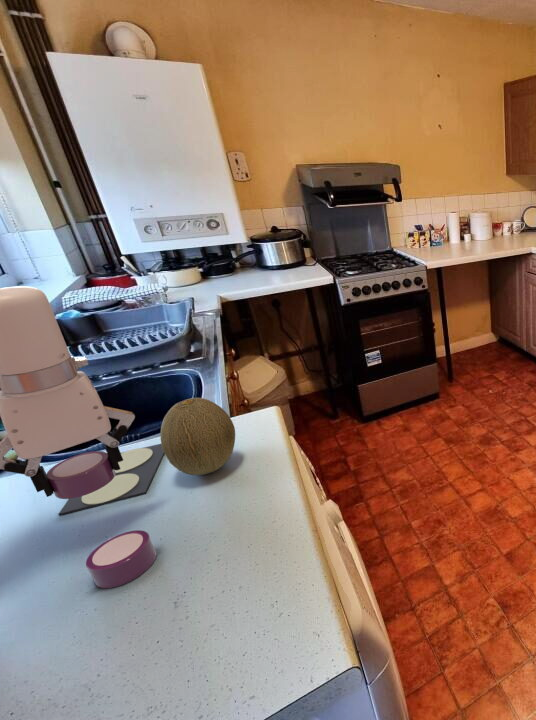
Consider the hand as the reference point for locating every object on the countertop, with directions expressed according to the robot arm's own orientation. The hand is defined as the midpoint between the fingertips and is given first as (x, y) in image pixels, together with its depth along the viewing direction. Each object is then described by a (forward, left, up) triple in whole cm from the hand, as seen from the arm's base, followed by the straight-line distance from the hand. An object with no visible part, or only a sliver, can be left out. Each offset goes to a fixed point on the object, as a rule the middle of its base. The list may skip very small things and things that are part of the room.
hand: (83, 478), depth 67 cm
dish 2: (+6, -11, -10) cm, 16 cm away
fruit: (+13, +10, -10) cm, 19 cm away
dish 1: (0, 0, -1) cm, 1 cm away
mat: (-2, +15, -10) cm, 19 cm away
